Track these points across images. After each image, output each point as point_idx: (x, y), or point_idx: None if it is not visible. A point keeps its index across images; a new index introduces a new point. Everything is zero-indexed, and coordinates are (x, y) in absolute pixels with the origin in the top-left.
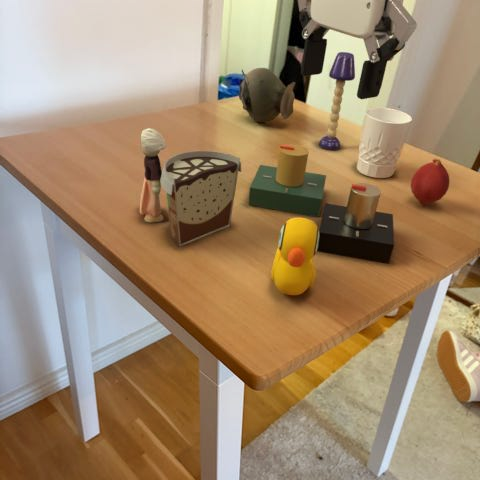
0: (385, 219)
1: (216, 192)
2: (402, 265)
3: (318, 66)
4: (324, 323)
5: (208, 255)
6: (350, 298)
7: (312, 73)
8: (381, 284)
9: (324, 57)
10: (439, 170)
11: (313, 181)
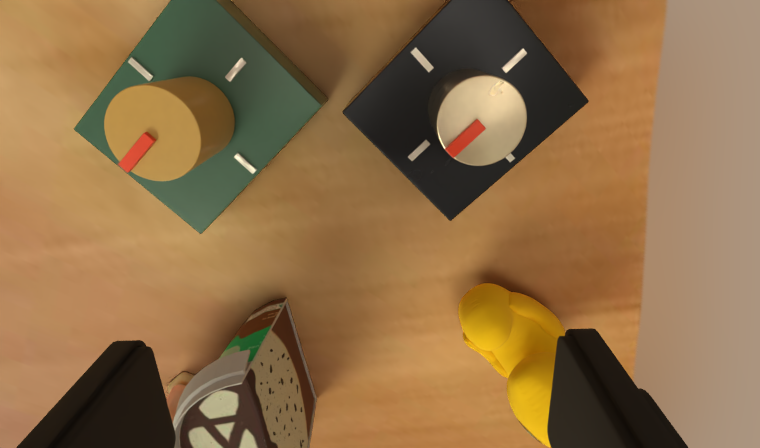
0: (492, 18)
1: (277, 389)
2: (593, 68)
3: (138, 399)
4: (610, 327)
5: (360, 374)
6: (595, 250)
7: (165, 406)
8: (606, 168)
9: (100, 402)
10: None
11: (218, 50)
